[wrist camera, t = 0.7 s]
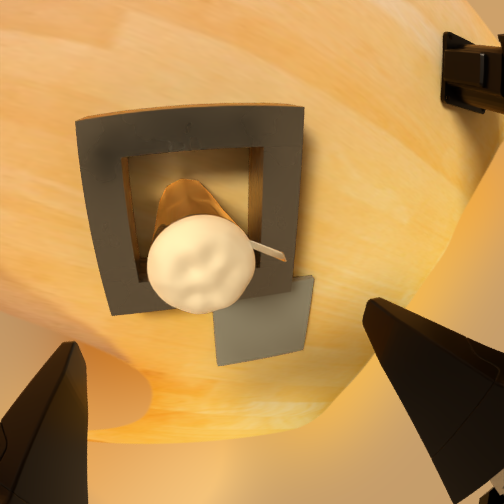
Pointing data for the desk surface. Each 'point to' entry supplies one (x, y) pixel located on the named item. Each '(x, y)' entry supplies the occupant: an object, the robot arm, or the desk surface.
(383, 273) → the desk surface
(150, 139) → the collar
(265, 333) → the pad
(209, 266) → the milkshake
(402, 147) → the desk surface
